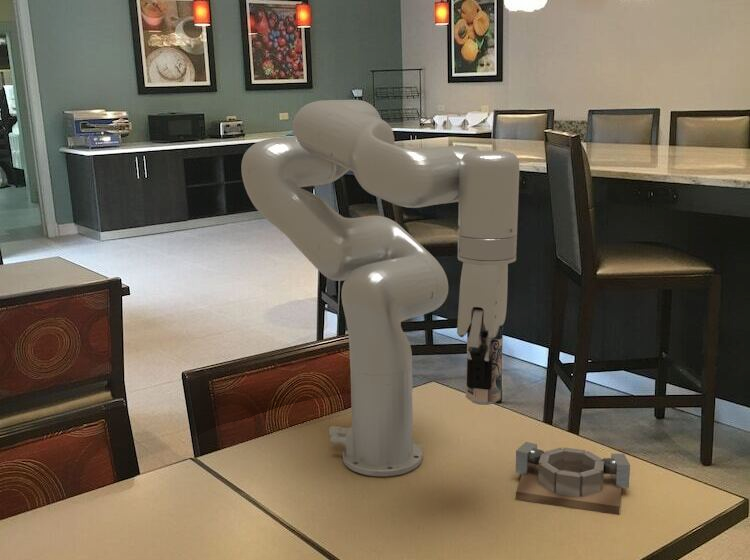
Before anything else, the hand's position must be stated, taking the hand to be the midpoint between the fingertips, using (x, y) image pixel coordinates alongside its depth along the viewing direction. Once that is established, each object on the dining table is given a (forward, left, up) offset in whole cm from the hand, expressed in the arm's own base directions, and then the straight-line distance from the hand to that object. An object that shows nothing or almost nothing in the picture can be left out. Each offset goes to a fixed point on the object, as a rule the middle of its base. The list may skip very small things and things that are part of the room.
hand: (483, 379), depth 106 cm
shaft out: (+17, +10, -17) cm, 26 cm away
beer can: (0, 0, -3) cm, 3 cm away
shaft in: (+5, +10, -17) cm, 21 cm away
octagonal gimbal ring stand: (+11, +8, -18) cm, 23 cm away
